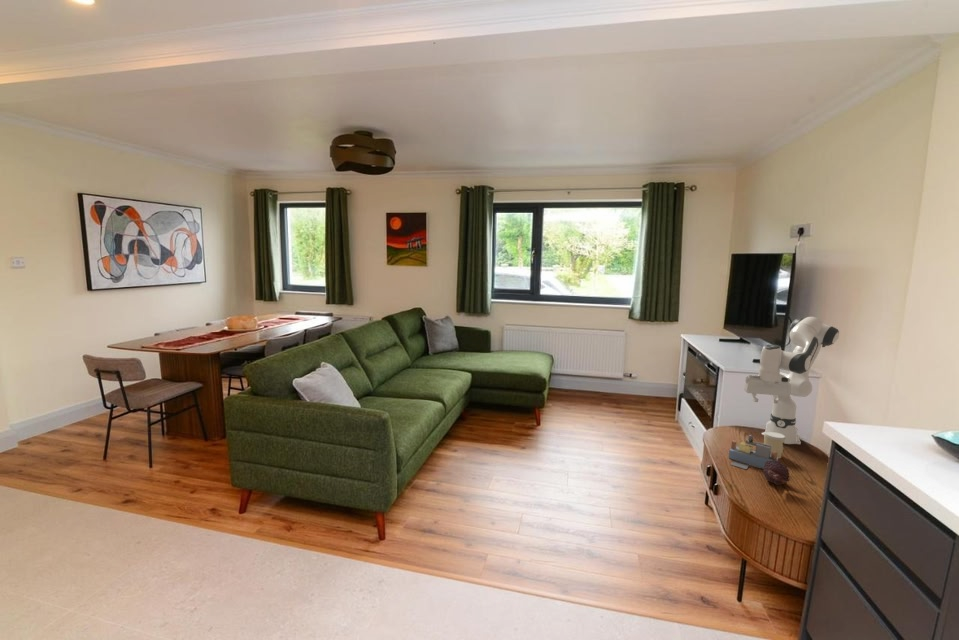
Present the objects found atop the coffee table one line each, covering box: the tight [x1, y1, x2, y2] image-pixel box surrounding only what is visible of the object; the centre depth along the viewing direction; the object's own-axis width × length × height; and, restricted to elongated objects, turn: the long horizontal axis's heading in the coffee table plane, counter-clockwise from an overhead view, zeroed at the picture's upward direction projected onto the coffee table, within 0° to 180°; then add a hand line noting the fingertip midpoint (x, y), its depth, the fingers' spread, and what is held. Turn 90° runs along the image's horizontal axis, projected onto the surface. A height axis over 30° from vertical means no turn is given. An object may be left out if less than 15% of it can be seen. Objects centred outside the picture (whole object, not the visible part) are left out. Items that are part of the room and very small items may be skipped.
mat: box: [730, 460, 750, 470], centre depth 213 cm, size 6×7×1 cm
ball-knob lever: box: [744, 434, 764, 447], centre depth 215 cm, size 2×8×4 cm, turn 47°
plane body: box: [728, 439, 779, 470], centre depth 216 cm, size 8×20×11 cm, turn 47°
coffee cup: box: [763, 431, 785, 459], centre depth 225 cm, size 9×9×12 cm
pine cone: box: [762, 460, 790, 486], centre depth 196 cm, size 18×10×10 cm, turn 159°
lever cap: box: [738, 441, 754, 454], centre depth 218 cm, size 5×5×4 cm
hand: (765, 402), depth 216 cm, fingers open, 8 cm apart
